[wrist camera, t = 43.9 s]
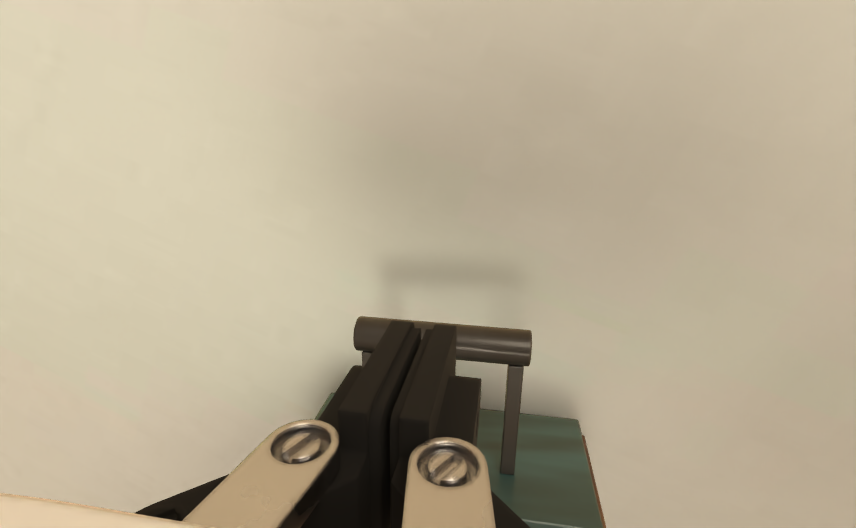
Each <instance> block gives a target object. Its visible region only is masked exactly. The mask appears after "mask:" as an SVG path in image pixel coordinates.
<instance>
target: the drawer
mask: <svg viewBox="0 0 856 528" xmlns="http://www.w3.org/2000/svg"><path fill="white" fill-rule="evenodd" d="M392 320H397V321H408V322H413V323H414V327H415V328H421V341H422V338H423V336H424V333H425V331H426V329H433V328H434V325H435V324H441V325H452V326H456V327H457V339H456V360H466V361H477V362H487V363H498V364H508V370H507V383H506V396H505V409H504V412H503V411H494V410H485V409H480V413H479V426H478V437H477V446H476V447H477V448H478V449H479V450H480V451H481V453H482V454H483V455H484V457H485V459H486V462H487V466H488V473H489V481H490V489H491V491H492V492H493V493H494V494H495V495H497V496H498V497H499V498H500V499H501V500H502V501H503V502H504V503H505V504H506V505H507V506H508V507H509V508H510V509H511V510H512V511H513V512H514V513H516V514H517V515H518V516H519V517H520V518H521V519H522V520H523V521H524V522H525V523H526V524H527V525H528V526H529V527H530V528H603V525H602V520H601V516H600V512H599V507H598V503H597V499H596V494H595V490H594V486H593V481H592V477H591V473H590V469H589V464H588V460H587V456H586V451H585V447H584V443H583V438H582V434H581V430H580V425H579V421H578V420H576V419H567V418H558V417H549V416H539V415H530V414H521V413H520V403H521V392H522V381H523V370H524V366H529V365H530V360H531V349H532V333H531V331H530V330H521V329H509V328H497V327H485V326H472V325H460V324H448V323H436V322H424V321H412V320H400V319H387V318H375V317H363V316H361V317H359V318H358V319H357V321H356V324H355V328H354V337H353V340H354V347H355V349H356V350H360V351H363V352H362V366H365V364H366V363H367V361H368V359H369V358H370V356H371V354H372V353H373V351H374V349H375V348H376V346H377V344H378V343H379V341H380V339H381V338H382V336H383V334H384V333H385V331H386V329H387V328H388V326H389V324H390V323H391V321H392ZM334 394H335V393H331V394H330V396H329V397H328V399H327V400H326V402H325V404H324V405H323V407H322V408H321V410H320V412H319V413H318V415H317V416H316V418H315V420H318V419H319V418H320V416H321V414H322V413H323V411H324V410H325V408H326V407H327V405H328V404H329V402H330V401H331V399H332V397H333V396H334ZM389 528H391V524H390V527H389Z"/></svg>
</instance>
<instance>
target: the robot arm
mask: <svg viewBox="0 0 856 528" xmlns="http://www.w3.org/2000/svg"><path fill="white" fill-rule="evenodd" d="M456 339H457V327H456V326H452V325H441V324H435V325H434V328H433V329H426V331H425V333H424V336H423V338H422V341H421V328H415V327H414V323H413V322H408V321H397V320H392V321H391V323H390V324H389V326H388V328H387V329H386V331H385V333H384V334H383V336H382V338H381V339H380V341H379V343H378V344H377V346H376V348H375V349H374V351H373V353H372V354H371V356H370V358H369V359H368V361H367V363H366V364H365V366H358V365H355V366H353V367H352V368H351V370H350V371H349V373H348V374H347V376H346V377H345V379H344V380H343V382H342V384H341V385H340V387H339V388H338V390H337V391H336V393H335V394H334V396H333V397H332V399H331V401H330V402H329V404H328V405H327V407H326V408H325V410H324V411H323V413H322V414H321V416H320V418H319V419H318V420H312V419H310V420H299V421H295V422H291V423H288V424H286V425H284V426H282V427H279V428H278V429H276V430H275V431H274V432H272V433H271V434H270V435H269V436H268V437H267V438H266V439H265V440H264V441H263V442H262V443H261V444H260V445H259V446H258V447H257V448H256V449H255V450H254V451H253V452H251V453H250V454H249V455H248V456H247V457H246V458H245V459H244V460H243V461H242V462H241V463H240V464H239V465H238V466H237V467H236V468H235V469H234V470H233V471H232V472H231V473H230V474H228V475H226V476H223V477H221V478H218V479H216V480H213V481H211V482H208V483H205V484H203V485H200V486H198V487H195V488H193V489H190V490H188V491H185V492H183V493H180V494H177V495H175V496H172V497H170V498H167V499H165V500H162V501H160V502H157V503H155V504H152V505H150V506H148V507H146V508H144V509H142V510H140V511H137V512H136V513H128V512H123V511H117V510H111V509H105V508H99V507H93V506H87V505H81V504H75V503H69V502H63V501H57V500H51V499H43V498H35V497H28V496H20V495H12V494H4V493H0V528H389V527H390V524H391V528H530V527H529V526H528V525H527V524H526V523H525V522H524V521H523V520H522V519H521V518H520V517H519V516H518V515H517V514H516V513H514V512H513V511H512V510H511V509H510V508H509V507H508V506H507V505H506V504H505V503H504V502H503V501H502V500H501V499H500V498H499V497H498V496H497V495H495V494H494V493H493V492H492V491H491V489H490V481H489V473H488V466H487V462H486V459H485V457H484V455H483V454H482V453H481V451H480V450H479V449H478V448H477V447H476V446H477V437H478V426H479V413H480V396H481V379H479V378H469V377H460V376H455V366H456Z"/></svg>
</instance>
